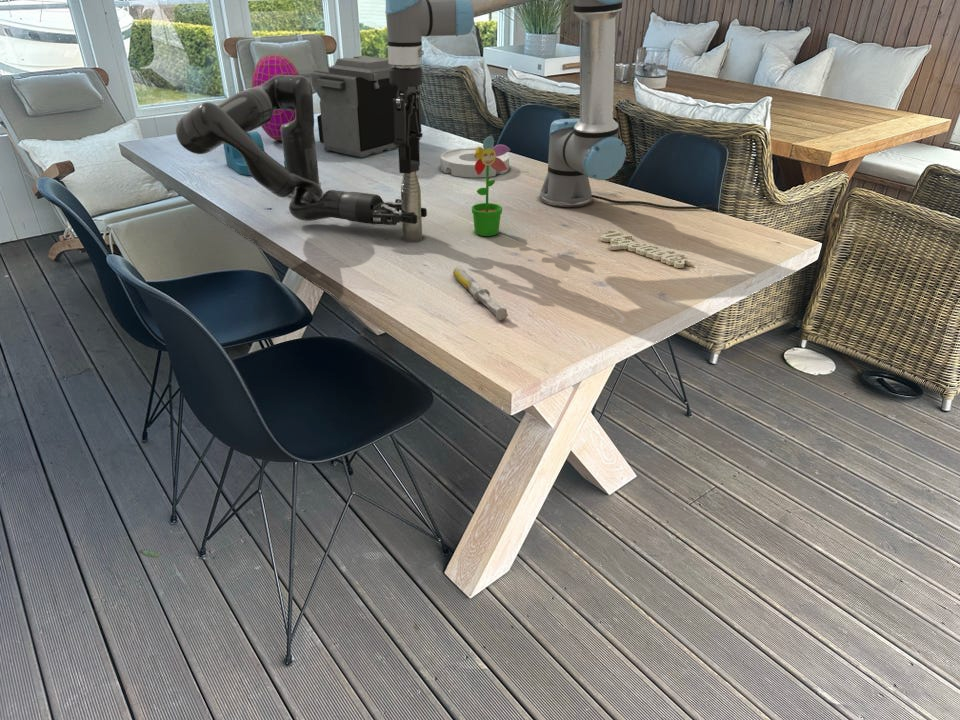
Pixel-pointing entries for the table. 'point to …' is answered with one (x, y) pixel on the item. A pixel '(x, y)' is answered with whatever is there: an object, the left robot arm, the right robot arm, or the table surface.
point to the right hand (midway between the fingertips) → (409, 168)
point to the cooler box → (356, 106)
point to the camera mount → (235, 157)
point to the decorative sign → (644, 249)
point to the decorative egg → (263, 73)
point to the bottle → (411, 206)
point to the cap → (414, 166)
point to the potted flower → (487, 212)
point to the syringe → (479, 293)
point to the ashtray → (467, 163)
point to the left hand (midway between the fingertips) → (421, 215)
